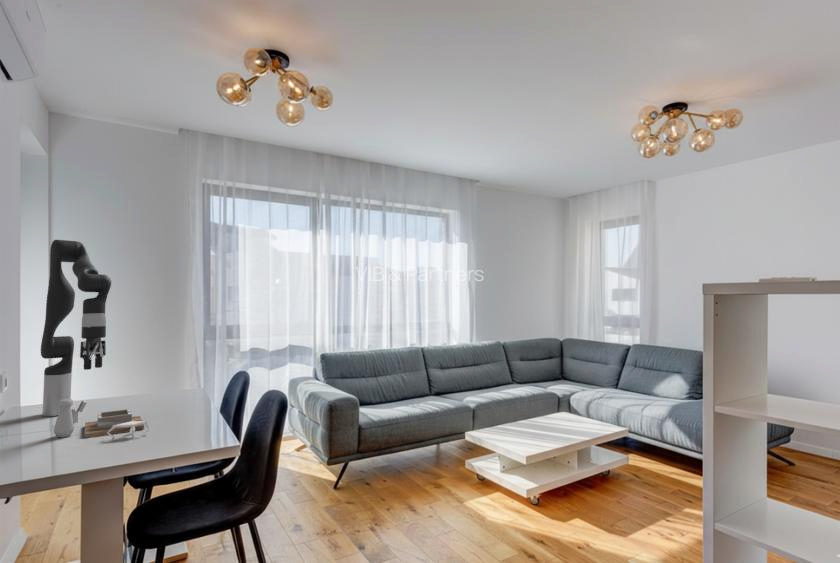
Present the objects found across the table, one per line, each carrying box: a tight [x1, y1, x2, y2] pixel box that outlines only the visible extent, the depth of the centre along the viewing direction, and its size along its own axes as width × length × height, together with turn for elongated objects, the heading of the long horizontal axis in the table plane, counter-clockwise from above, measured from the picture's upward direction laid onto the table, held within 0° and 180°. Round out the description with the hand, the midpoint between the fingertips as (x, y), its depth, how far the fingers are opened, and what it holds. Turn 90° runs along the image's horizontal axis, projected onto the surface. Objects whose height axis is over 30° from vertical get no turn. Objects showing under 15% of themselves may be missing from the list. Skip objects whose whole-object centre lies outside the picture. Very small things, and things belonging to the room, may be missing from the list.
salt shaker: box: [53, 398, 75, 438], centre depth 160 cm, size 6×6×13 cm
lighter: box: [71, 400, 88, 423], centre depth 178 cm, size 7×2×8 cm, turn 150°
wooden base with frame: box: [84, 408, 145, 439], centre depth 170 cm, size 18×18×6 cm
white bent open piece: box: [107, 420, 150, 440], centre depth 159 cm, size 12×8×5 cm
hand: (93, 368), depth 168 cm, fingers open, 8 cm apart
